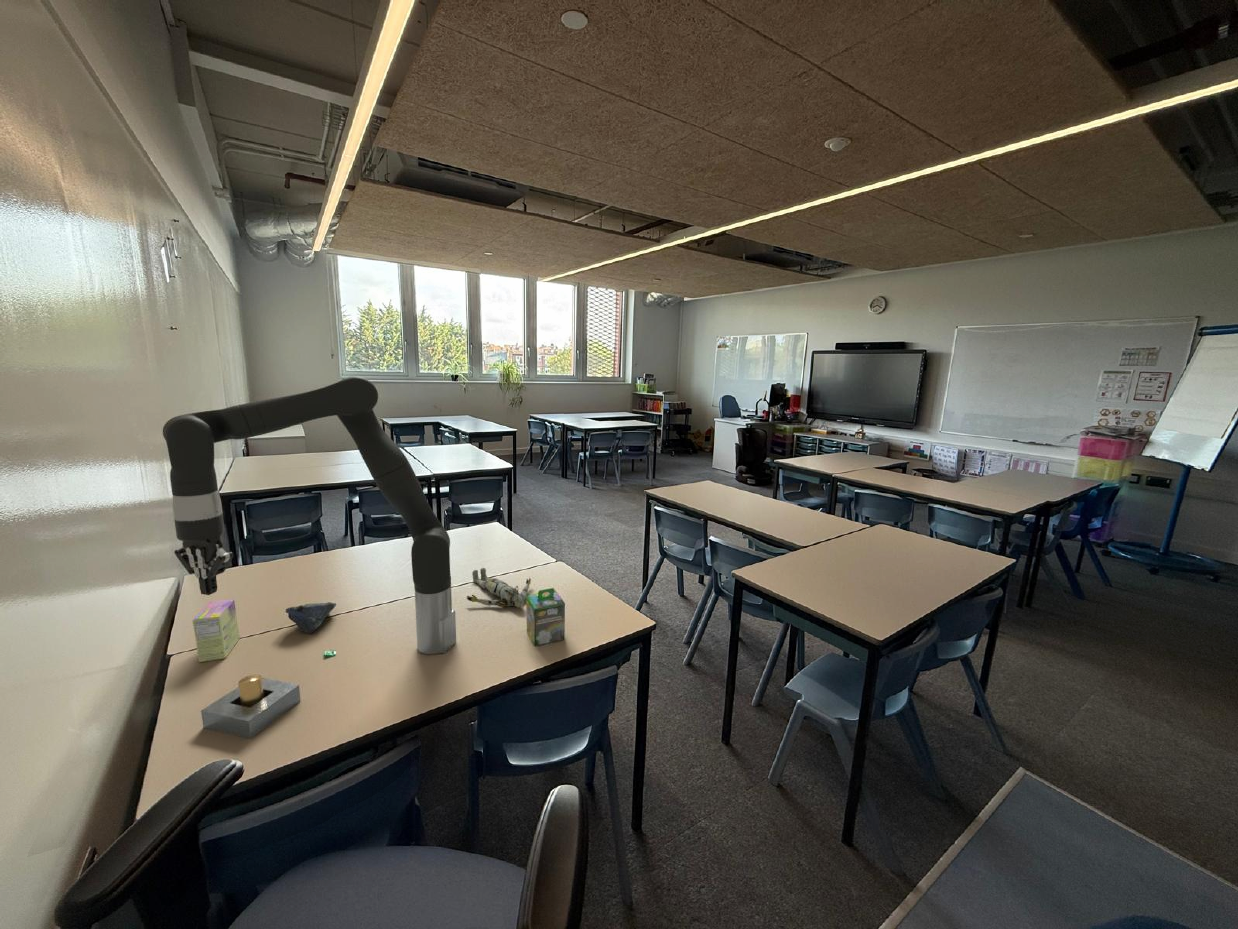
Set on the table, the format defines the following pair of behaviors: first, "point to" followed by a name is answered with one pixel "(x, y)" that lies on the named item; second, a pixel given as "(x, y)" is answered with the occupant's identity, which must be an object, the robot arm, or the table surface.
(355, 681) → the table surface
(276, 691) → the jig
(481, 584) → the action figure
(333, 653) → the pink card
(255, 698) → the cylinder
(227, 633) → the box
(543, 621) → the chalk box
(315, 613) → the rock
